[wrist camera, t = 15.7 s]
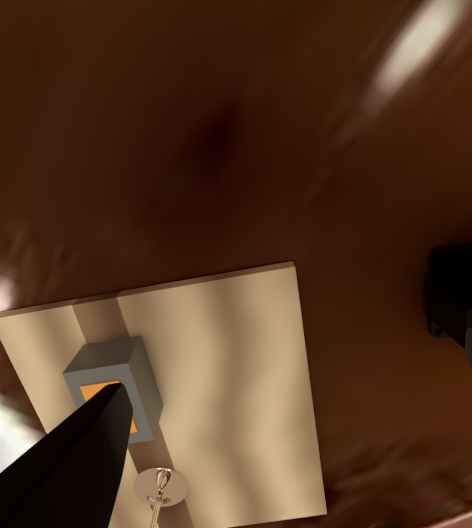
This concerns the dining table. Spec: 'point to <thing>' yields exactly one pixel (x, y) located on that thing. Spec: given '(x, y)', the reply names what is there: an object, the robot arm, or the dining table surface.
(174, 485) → the wineglass
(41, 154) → the dining table surface
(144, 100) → the dining table surface
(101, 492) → the robot arm
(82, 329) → the subfloor board
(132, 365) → the block
